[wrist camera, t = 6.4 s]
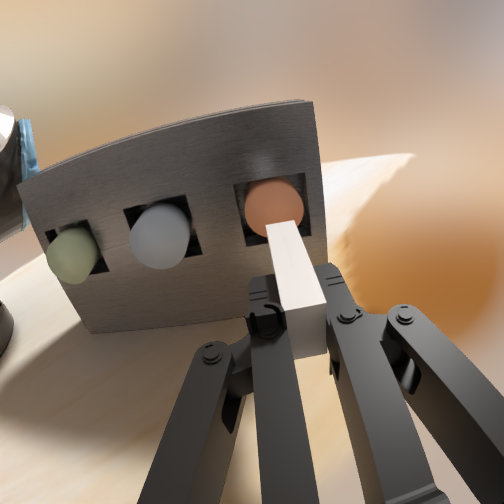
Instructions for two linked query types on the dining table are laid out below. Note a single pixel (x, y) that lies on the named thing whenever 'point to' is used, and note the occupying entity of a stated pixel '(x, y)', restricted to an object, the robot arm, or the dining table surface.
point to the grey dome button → (160, 236)
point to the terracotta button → (272, 203)
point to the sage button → (73, 254)
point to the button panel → (191, 202)
